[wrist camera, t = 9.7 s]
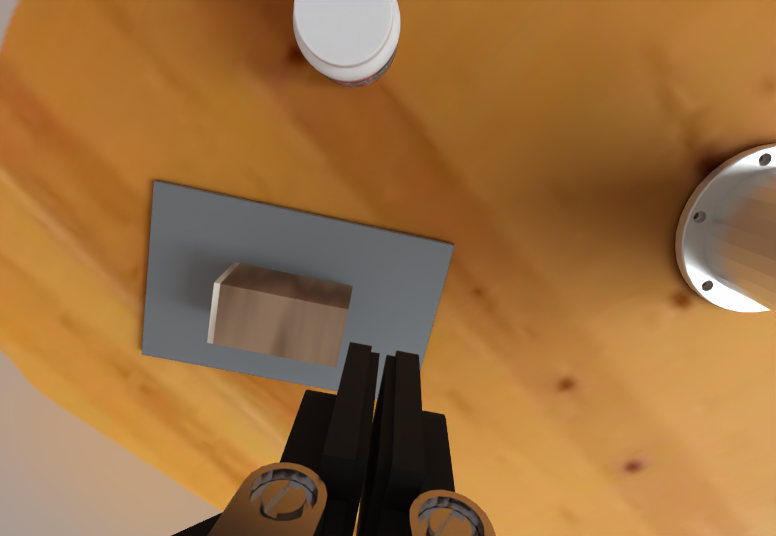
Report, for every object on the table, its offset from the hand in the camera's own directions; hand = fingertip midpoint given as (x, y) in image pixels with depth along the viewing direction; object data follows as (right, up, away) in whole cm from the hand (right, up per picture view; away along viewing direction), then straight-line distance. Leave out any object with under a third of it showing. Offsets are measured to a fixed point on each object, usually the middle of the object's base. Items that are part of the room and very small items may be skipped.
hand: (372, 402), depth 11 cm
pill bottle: (-2, +18, +21) cm, 28 cm away
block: (-12, +1, +23) cm, 26 cm away
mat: (-7, +1, +26) cm, 27 cm away
